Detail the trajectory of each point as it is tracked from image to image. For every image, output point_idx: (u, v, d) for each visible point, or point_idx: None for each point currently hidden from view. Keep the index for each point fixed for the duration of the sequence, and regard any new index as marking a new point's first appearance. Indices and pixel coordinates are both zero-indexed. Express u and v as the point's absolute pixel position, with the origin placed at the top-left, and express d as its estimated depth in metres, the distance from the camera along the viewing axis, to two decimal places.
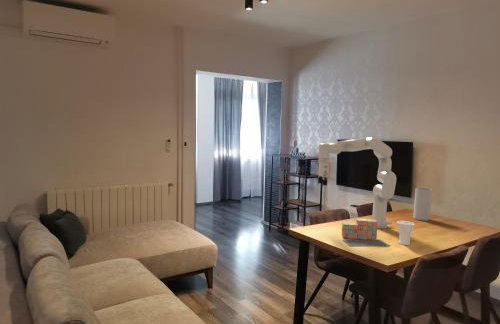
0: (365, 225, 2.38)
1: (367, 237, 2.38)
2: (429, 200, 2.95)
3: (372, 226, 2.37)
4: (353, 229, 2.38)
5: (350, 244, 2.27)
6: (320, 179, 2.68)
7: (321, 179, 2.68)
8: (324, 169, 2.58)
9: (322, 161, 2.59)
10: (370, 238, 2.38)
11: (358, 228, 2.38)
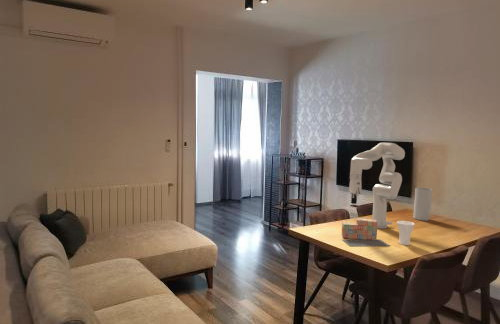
0: (365, 225, 2.38)
1: (367, 237, 2.38)
2: (429, 200, 2.95)
3: (372, 226, 2.37)
4: (353, 229, 2.38)
5: (350, 244, 2.27)
6: None
7: None
8: (356, 186, 2.43)
9: (354, 177, 2.44)
10: (370, 238, 2.38)
11: (358, 228, 2.38)
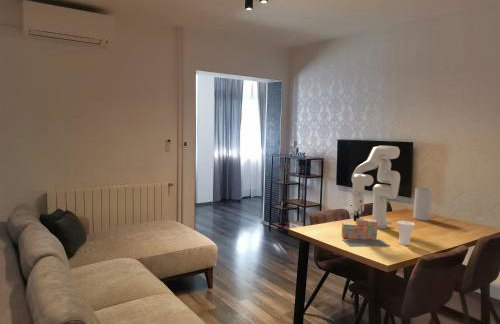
0: (365, 225, 2.37)
1: (367, 237, 2.38)
2: (429, 200, 2.95)
3: (372, 226, 2.37)
4: (353, 229, 2.38)
5: (350, 244, 2.27)
6: None
7: None
8: (359, 204, 2.39)
9: (357, 195, 2.40)
10: (370, 238, 2.38)
11: (358, 228, 2.38)
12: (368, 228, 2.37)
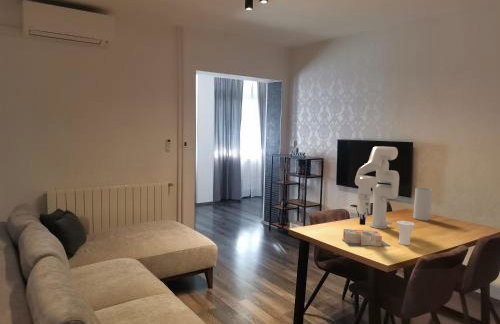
0: None
1: None
2: (429, 200, 2.95)
3: None
4: None
5: (350, 244, 2.27)
6: None
7: None
8: (365, 207, 2.30)
9: (363, 197, 2.32)
10: None
11: None
12: None
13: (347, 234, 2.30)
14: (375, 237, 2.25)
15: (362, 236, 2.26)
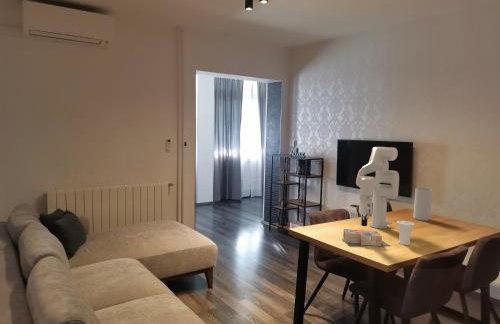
0: None
1: None
2: (429, 200, 2.95)
3: None
4: None
5: (350, 244, 2.27)
6: None
7: None
8: (367, 208, 2.28)
9: (365, 198, 2.29)
10: None
11: None
12: None
13: (347, 234, 2.30)
14: (375, 237, 2.25)
15: (362, 236, 2.26)
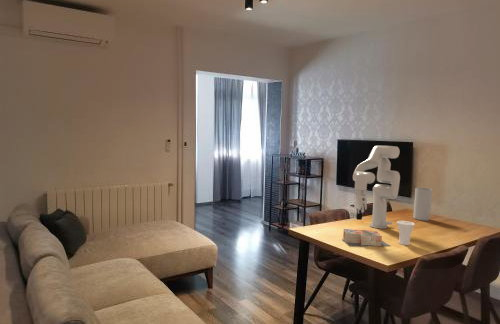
0: None
1: None
2: (429, 200, 2.95)
3: None
4: None
5: (350, 244, 2.27)
6: None
7: None
8: (362, 202, 2.37)
9: (359, 193, 2.38)
10: None
11: None
12: None
13: (347, 234, 2.30)
14: (375, 237, 2.25)
15: (362, 236, 2.26)
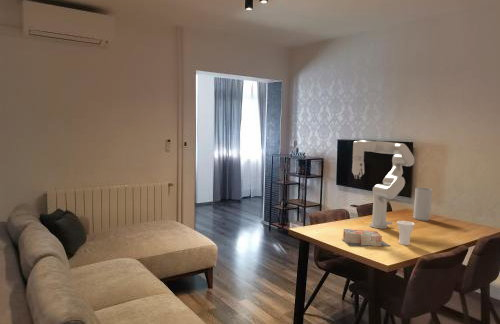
0: None
1: None
2: (429, 200, 2.95)
3: None
4: None
5: (350, 244, 2.27)
6: None
7: None
8: (359, 167, 2.54)
9: (357, 159, 2.55)
10: None
11: None
12: None
13: (347, 234, 2.30)
14: (375, 237, 2.25)
15: (362, 236, 2.26)
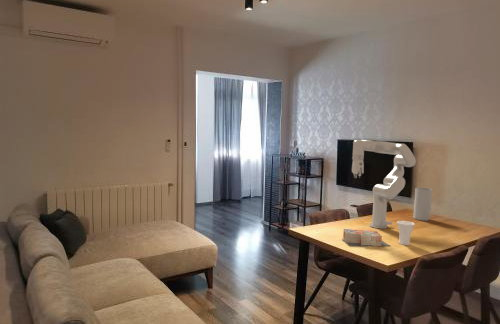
0: None
1: None
2: (429, 200, 2.95)
3: None
4: None
5: (350, 244, 2.27)
6: None
7: None
8: (359, 166, 2.55)
9: (357, 158, 2.56)
10: None
11: None
12: None
13: (347, 234, 2.30)
14: (375, 237, 2.25)
15: (362, 236, 2.26)
